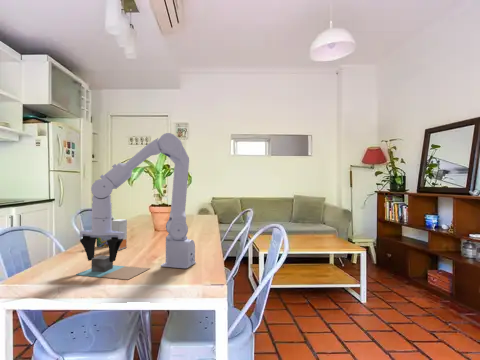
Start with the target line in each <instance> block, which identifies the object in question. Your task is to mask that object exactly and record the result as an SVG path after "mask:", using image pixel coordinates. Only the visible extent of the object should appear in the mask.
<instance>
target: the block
mask: <svg viewBox="0 0 480 360" xmlns="http://www.w3.org/2000/svg"><path fill="white" fill-rule="evenodd" d="M113 265H114V261H113V262H110V260H109V255H101V254H99V255H97V256H94V258H92V260H91V268H92V271H93V272H106V271H108V270H110V269H112V268H113Z"/></svg>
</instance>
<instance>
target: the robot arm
mask: <svg viewBox="0 0 480 360" xmlns="http://www.w3.org/2000/svg"><path fill="white" fill-rule="evenodd" d="M160 154H163V156H166V157H168V159H169V160H171V162H172V163H173V164H174V165H173V166H174V168H173V169H174V170H173V180H172V192H171V194H172V195H171V203H170V204H171V205H170V212H169V216H168V219H167V221H166V223H165V231H166V232H167V233H168V234H167V236H165V262H164V263H161V264H160V267H162V268H176V269H188V268H190V267H192V266H193V265H195V264H196V262H197V261H196V243H195V241H194V240H193V239H189V238H188V236H187V235H188V232H189V227H188V225H187V215H186V205H187V204H186V202H187V193H188V180H189V168H190V157H189V155H188V153H187V151H186V150H185V147H184V145H183V142H182V140H181V139H180V138H179V137H178V136H176V135H175V134H174V133H171V132H165V133H164V134H162V135H161V136H160V137H157V138H155V139H154V140H152V141H151V142H149V143H148V144H146V145H145V146H144V147H143V148H142V149H140V150H139V151H138V152H136V154H135V155H134V156H132V157H131V158H130V159H129V160H128V161H126V162H124V163H123V162H119V163H117V164H116V163H114V164H112V166H111V169H110V170H108V171H107V172H106V173H105V174H101V175H100V176H99V177H100V179H96V180H95V181H94V182H93V183H92V184H91V188H90V189H91V190H90V191H91V193H92V198H91V201H92V203H91V229H90V230H87V229H83V230H80V231H79V238H80V240H79V243H81V245H82V247H83V248H84V251H85V254H86V257H87V261H89V262H90V261H92V258H94V257H95V247H96V244H97V238H111V239H110V240H107V243H108V246H107V247H108V251H109V255H108V256H109V260H110V262H113V263H114V262H116V259H117V255H118V251H119V250H118V249H119V247H120V245H121V243H122V241H123V238H124V232H119V231H112V230H111V226H112V218H113V217H112V216H113V215H112V206H113V205H112V202H111V201H112V200H111V198H112V197H111V194H112V192H113V190H117V189H119V187H121V186H122V185H123V184H124V183H125V182H126V181H128V180H129V179H130V178H131V177H132V174H133V170H134V169H136V168H137V167H138V166H139V165H141V164H143V163H144V162H145V161H146V160H147V159H148V158H149V157H151V156H156V155H160Z"/></svg>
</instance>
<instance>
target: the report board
mask: <svg viewBox="0 0 480 360" xmlns="http://www.w3.org/2000/svg"><path fill="white" fill-rule="evenodd" d="M148 270H151V268H149V267H148V268H147V267H138V266H129V265H128V266H125V265H115V264H113V268H112V269H110V270H108V271H106V272H93V271H92V267H91V268H89V269H86V270H84V271H80V272H78V273H76V274H75V276H83V277H84V276H85V277H92V278H103V279H114V280H122V281H123V280H124V281H128V280H129V281H130V280H131V279H133V278H135V277H137V276H139V275H140V274H141V275H142V274H143V273H144V272H147V271H148Z"/></svg>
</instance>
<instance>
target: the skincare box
mask: <svg viewBox="0 0 480 360" xmlns="http://www.w3.org/2000/svg"><path fill="white" fill-rule="evenodd" d="M111 230H112V231H119V232H124V238H123V241H122V243H121V245H120V247H119V249H118V251H120V250H123V249H127V246H128V245H127V244H128V240H127V239H128V235H127V233H128V219H121V218H118V219H117V218H116V219H113V221H112V226H111ZM110 239H111V238H110Z"/></svg>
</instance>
